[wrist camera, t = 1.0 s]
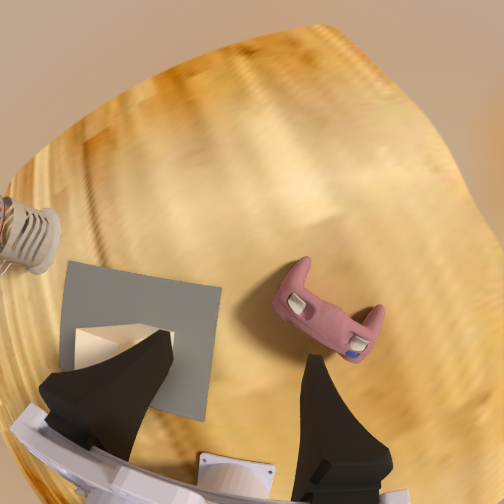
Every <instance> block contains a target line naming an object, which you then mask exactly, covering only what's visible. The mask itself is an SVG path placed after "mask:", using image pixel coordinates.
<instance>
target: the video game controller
mask: <svg viewBox="0 0 504 504" xmlns="http://www.w3.org/2000/svg"><path fill="white" fill-rule="evenodd" d="M310 267H311V259H310V257H308V256H305V257H303V258H301V259H300V260H299V261H298V262H297V263H296V264H295V265H294V266H293V267H292V269H291V270H290V271H289V272H288V273H287V275H286V276H285V278H284V279H283V281H282V283H281V285H280V287H279V289H278V291H277V293H276V295H275V297H274V298H273V300H272V302H271V304H272V307H273V309H274V310H275V312H276V313H277V314H278V315H279V316H280V317H281V318H282V319H283V320H284V321H287V322H289V323H291V324H294V325H296V326H297V327H299V328H300V329H301V330H302V331H303V332H305V333H306V334H308V335H309V336H310V337H312V338H313V339H315V340H316V341H318V342H320V343H321V344H323V345H325V346H326V347H328V348H330V349H332V350H334V351H336V352H337V353H338V354H339V355H340V356H341V357H343V358H344V359H345V360H347V361H349V362H352V363H360V362H361V361H362V360H363V359H364V358H365V357H366V356H367V355H368V354H369V353H370V352H371V350H372V348H373V346H374V344H375V343H376V340H377V338H378V335H379V332H380V329H381V326H382V323H383V320H384V315H385V310H384V307H383V305H377V306H375V307H374V308H373V309H372V310H371V311H370V312H369V313H368V315H367V316H366V318H365V319H364V321H363V322H362V324H359V323H357V322H356V321H354V320H352V319H351V318H350V317H349V316H348V315H347V314H346V313H345V312H344V311H343V310H342V309H341V308H339V307H338V306H336V305H334V304H331V303H329V302H326V301H323V300H321V299H320V298H318V297H317V296H316V295H314V294H313V293H312V292H310V291H309V290H307V289H306V288H304V282H305V279H306V276H307V274H308V272H309V269H310Z"/></svg>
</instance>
